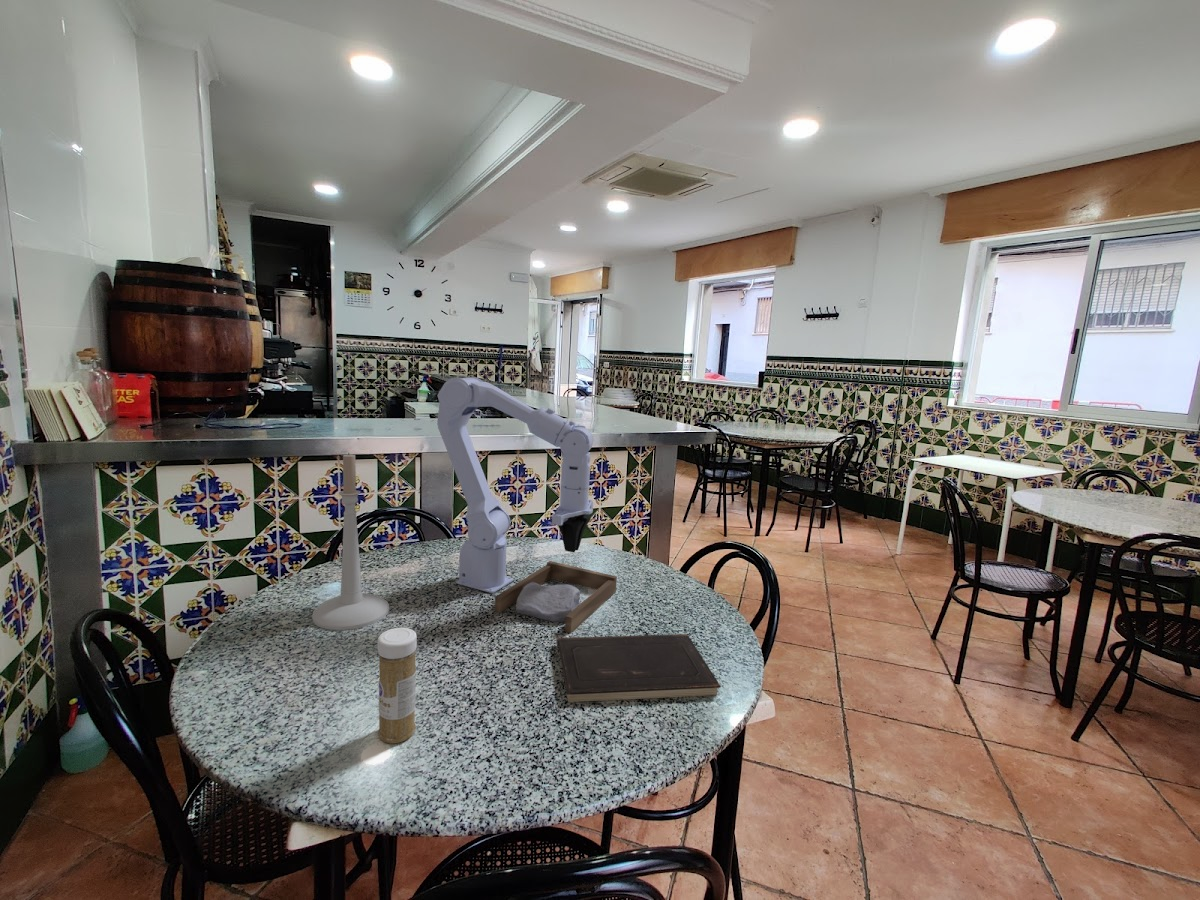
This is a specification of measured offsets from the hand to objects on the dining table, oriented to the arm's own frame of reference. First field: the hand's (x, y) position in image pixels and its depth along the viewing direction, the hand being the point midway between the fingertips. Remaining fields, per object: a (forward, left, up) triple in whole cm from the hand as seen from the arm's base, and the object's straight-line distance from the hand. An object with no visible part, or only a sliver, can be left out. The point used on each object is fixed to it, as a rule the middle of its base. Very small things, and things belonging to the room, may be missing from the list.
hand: (571, 550), depth 112 cm
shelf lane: (0, -5, -9) cm, 11 cm away
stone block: (0, -9, -10) cm, 14 cm away
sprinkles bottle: (+1, -49, -10) cm, 50 cm away
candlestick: (-30, -29, -10) cm, 43 cm away
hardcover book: (+22, -20, -10) cm, 31 cm away
